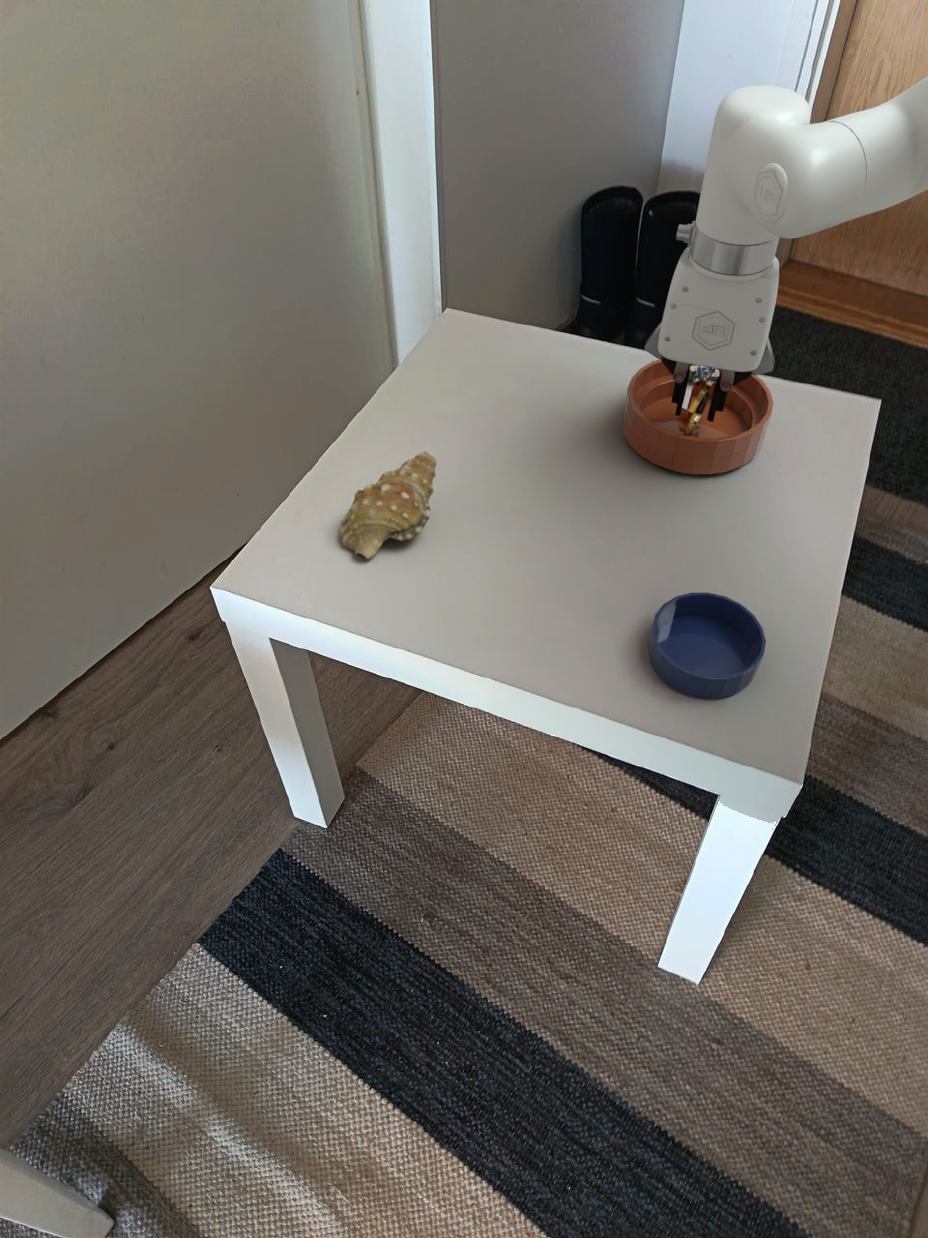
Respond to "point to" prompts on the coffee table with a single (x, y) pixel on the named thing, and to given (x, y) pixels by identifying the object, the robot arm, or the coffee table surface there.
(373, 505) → the seashell
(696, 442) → the bowl
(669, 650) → the blue round dish
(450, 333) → the coffee table surface
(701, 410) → the ring
